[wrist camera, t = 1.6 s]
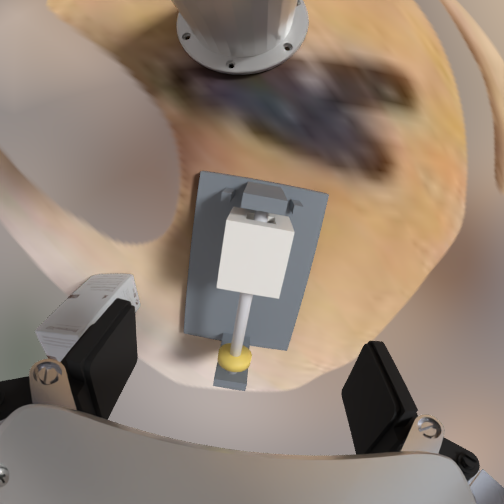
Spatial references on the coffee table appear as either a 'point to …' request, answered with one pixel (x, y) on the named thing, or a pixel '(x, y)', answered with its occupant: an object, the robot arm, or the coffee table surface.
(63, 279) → the coffee table surface
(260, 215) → the slide rail
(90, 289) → the skincare box
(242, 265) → the sleeve
